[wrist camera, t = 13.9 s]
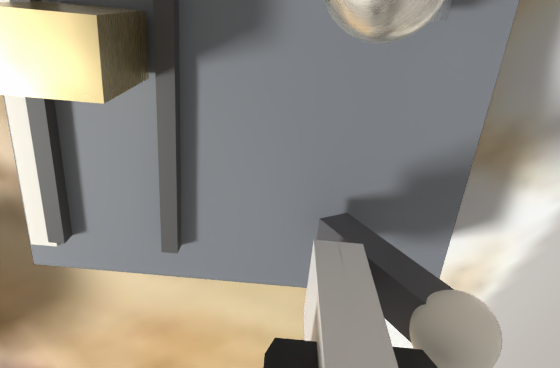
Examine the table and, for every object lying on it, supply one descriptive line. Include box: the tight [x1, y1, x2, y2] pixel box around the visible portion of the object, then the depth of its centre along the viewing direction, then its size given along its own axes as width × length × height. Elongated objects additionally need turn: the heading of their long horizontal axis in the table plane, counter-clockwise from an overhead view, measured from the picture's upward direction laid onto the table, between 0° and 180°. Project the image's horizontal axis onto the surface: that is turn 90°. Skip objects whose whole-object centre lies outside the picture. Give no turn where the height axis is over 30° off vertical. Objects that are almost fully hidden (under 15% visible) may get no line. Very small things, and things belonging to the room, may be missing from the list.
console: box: [0, 0, 519, 288], centre depth 14 cm, size 20×16×5 cm
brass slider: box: [0, 1, 149, 104], centre depth 11 cm, size 2×3×4 cm, turn 85°
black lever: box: [317, 213, 502, 368], centre depth 13 cm, size 2×2×6 cm
